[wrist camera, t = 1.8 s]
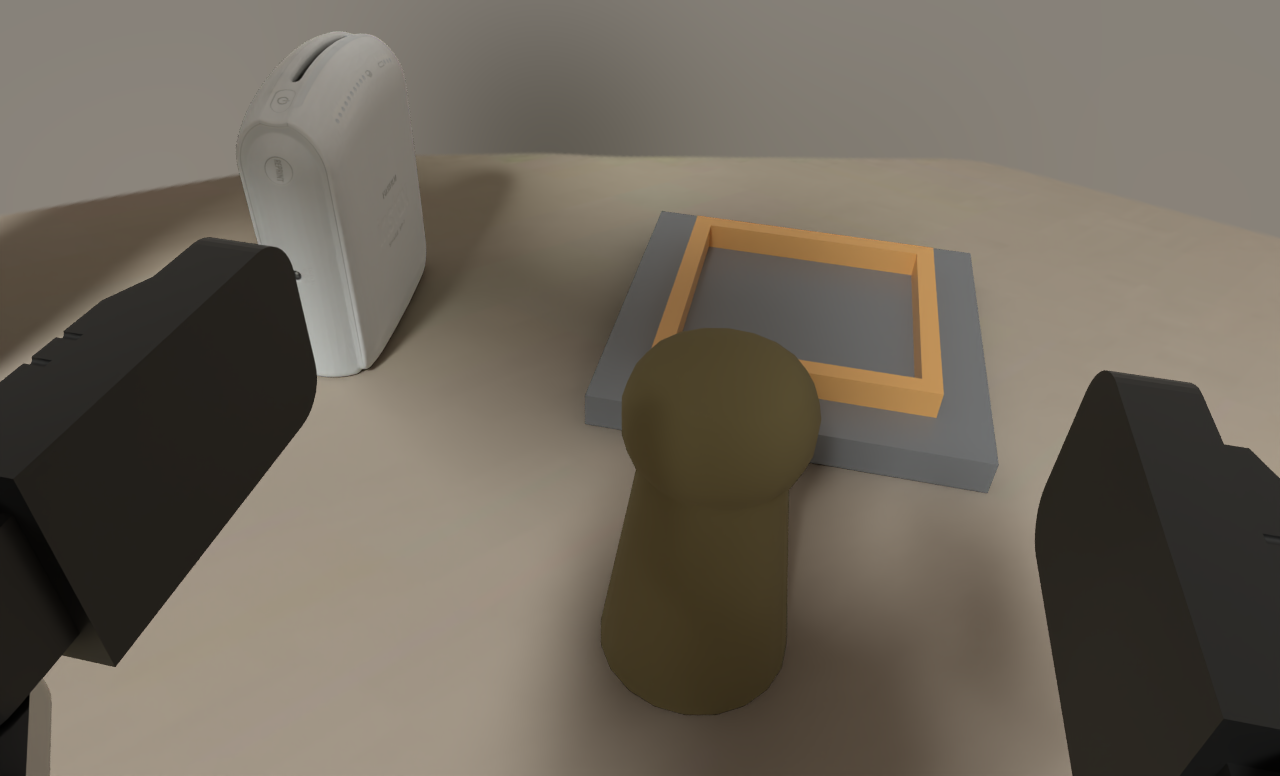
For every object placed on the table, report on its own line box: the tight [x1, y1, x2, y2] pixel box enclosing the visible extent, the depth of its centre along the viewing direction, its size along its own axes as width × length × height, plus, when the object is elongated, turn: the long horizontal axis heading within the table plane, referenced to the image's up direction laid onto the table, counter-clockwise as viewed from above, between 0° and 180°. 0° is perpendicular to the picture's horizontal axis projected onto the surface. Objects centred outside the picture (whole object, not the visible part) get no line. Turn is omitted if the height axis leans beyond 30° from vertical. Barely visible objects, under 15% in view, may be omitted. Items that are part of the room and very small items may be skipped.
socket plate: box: [585, 211, 999, 493], centre depth 42 cm, size 16×16×3 cm
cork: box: [601, 328, 821, 715], centre depth 26 cm, size 6×6×11 cm
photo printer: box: [236, 31, 426, 377], centre depth 39 cm, size 10×4×12 cm, turn 174°
